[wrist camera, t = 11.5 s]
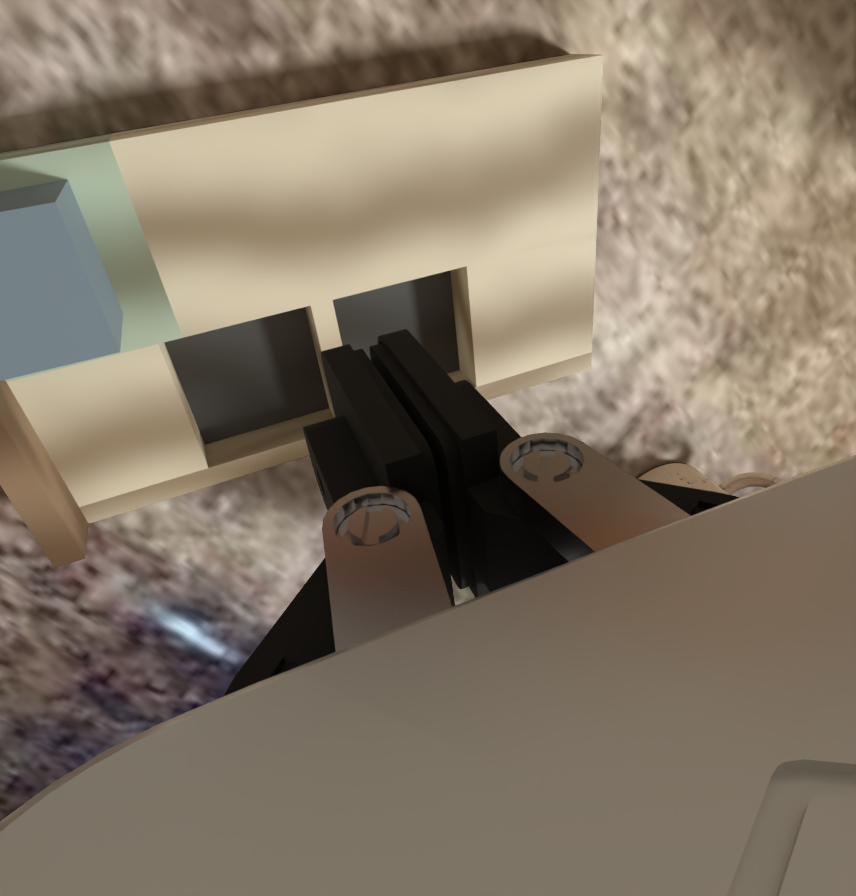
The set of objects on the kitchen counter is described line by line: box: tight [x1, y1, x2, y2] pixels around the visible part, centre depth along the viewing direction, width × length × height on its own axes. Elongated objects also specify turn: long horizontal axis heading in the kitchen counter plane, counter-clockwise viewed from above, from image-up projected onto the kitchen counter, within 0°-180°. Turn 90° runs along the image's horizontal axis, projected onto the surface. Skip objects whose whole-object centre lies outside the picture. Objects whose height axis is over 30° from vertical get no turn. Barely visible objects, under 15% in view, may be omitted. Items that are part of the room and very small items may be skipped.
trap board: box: [0, 54, 603, 568], centre depth 27 cm, size 15×28×5 cm, turn 96°
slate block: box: [0, 180, 123, 381], centre depth 21 cm, size 5×5×4 cm
